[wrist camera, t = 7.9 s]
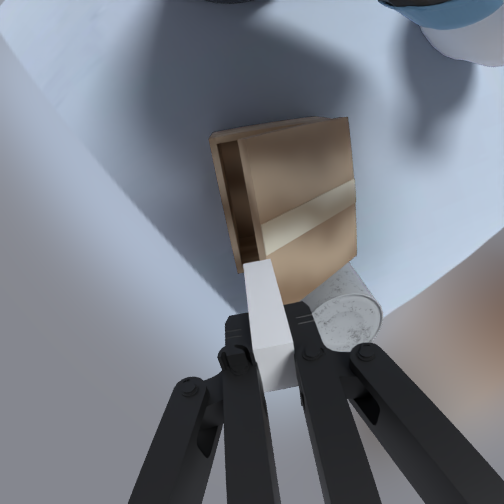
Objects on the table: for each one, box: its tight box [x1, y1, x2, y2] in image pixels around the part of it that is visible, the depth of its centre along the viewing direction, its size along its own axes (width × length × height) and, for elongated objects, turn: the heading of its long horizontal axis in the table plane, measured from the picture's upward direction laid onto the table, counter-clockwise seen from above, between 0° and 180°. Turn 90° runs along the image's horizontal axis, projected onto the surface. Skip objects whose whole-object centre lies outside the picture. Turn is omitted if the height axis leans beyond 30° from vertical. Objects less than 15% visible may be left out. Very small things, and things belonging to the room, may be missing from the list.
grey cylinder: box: [299, 262, 383, 352], centre depth 37 cm, size 10×10×12 cm
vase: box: [419, 0, 504, 67], centre depth 18 cm, size 14×14×20 cm
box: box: [209, 116, 331, 274], centre depth 33 cm, size 14×12×8 cm
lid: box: [237, 117, 357, 305], centre depth 25 cm, size 14×12×1 cm
